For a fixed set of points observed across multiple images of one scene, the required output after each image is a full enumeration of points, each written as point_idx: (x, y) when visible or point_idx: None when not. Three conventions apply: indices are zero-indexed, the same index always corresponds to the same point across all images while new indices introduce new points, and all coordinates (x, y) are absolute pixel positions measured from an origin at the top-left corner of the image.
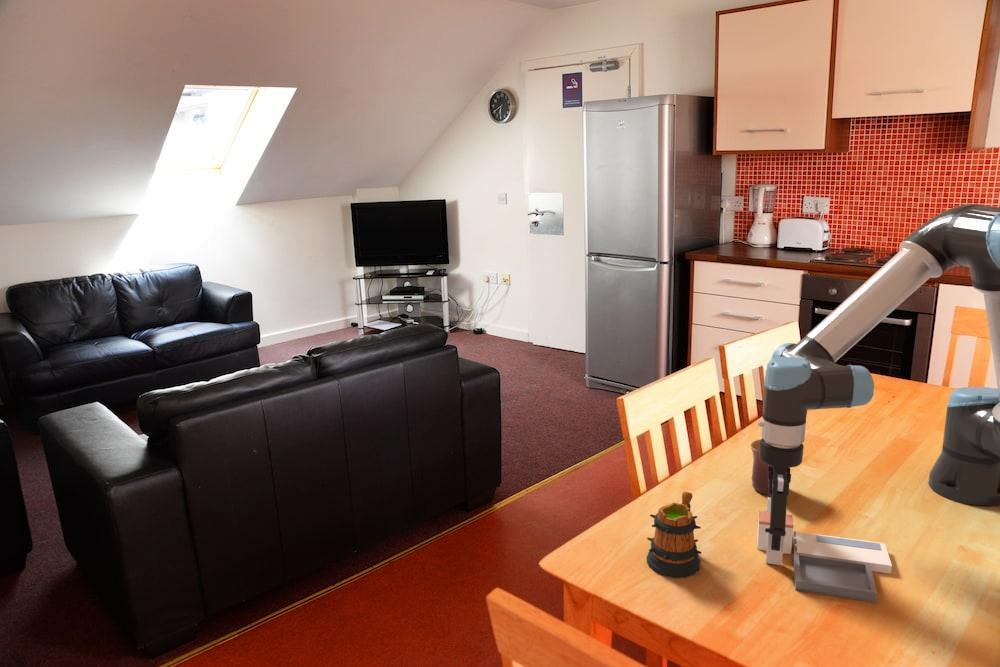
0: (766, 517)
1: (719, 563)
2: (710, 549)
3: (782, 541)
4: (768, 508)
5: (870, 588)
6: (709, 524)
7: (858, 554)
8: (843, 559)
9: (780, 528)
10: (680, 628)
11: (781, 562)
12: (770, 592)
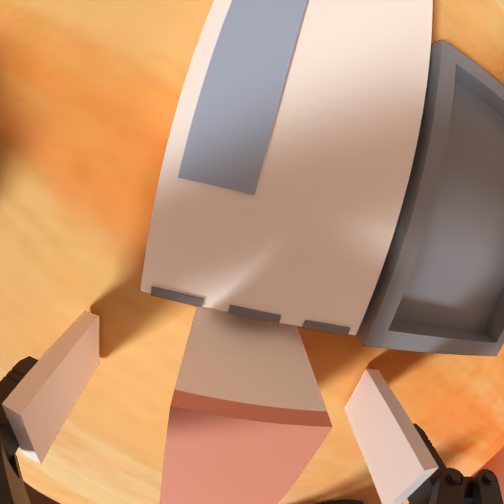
0: (226, 502)
1: (329, 482)
2: None
3: (419, 441)
4: (59, 421)
5: None
6: (123, 473)
7: (373, 35)
8: (434, 132)
9: (469, 501)
10: (467, 476)
11: (381, 377)
12: (464, 394)
